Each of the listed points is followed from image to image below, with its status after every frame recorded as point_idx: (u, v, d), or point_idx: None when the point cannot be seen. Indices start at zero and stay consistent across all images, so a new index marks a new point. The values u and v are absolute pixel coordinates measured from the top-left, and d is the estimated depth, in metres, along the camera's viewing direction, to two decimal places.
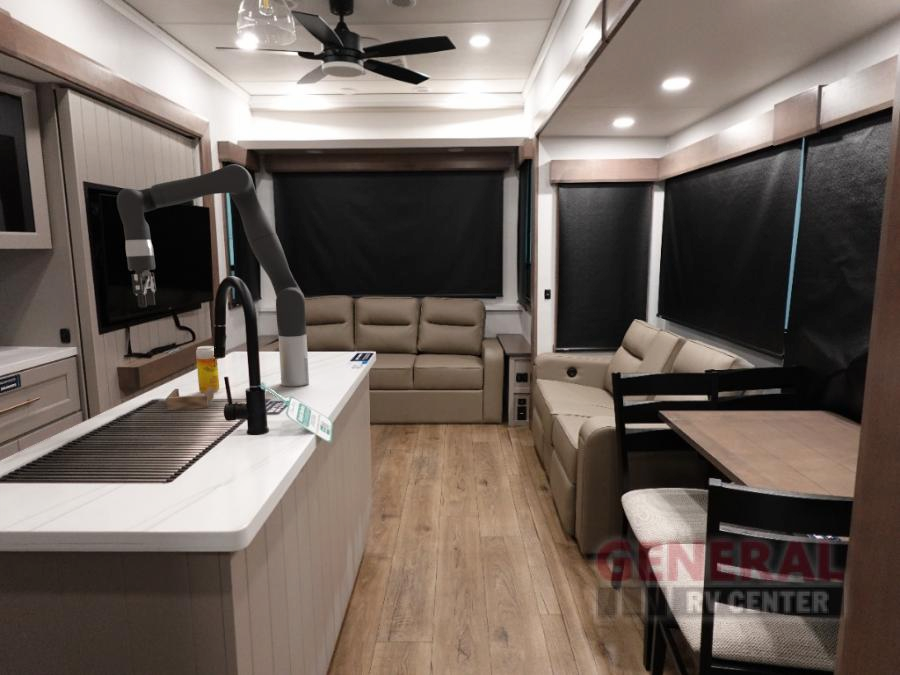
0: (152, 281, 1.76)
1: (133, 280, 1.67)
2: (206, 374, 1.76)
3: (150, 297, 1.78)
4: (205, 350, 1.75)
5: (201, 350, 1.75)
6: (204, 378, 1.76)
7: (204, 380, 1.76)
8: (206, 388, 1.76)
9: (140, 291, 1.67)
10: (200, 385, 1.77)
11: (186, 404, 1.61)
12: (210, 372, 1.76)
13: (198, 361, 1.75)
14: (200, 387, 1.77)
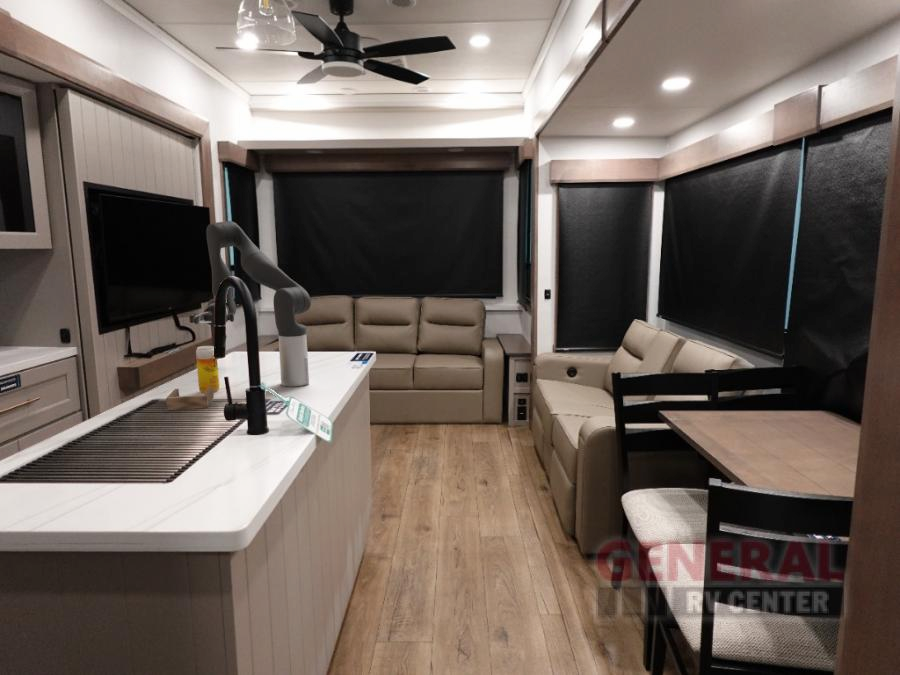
0: None
1: None
2: (206, 374, 1.76)
3: None
4: (205, 350, 1.75)
5: (201, 350, 1.75)
6: (204, 378, 1.76)
7: (204, 380, 1.76)
8: (206, 388, 1.76)
9: None
10: (200, 385, 1.77)
11: (186, 404, 1.61)
12: (210, 372, 1.76)
13: (198, 361, 1.75)
14: (200, 387, 1.77)
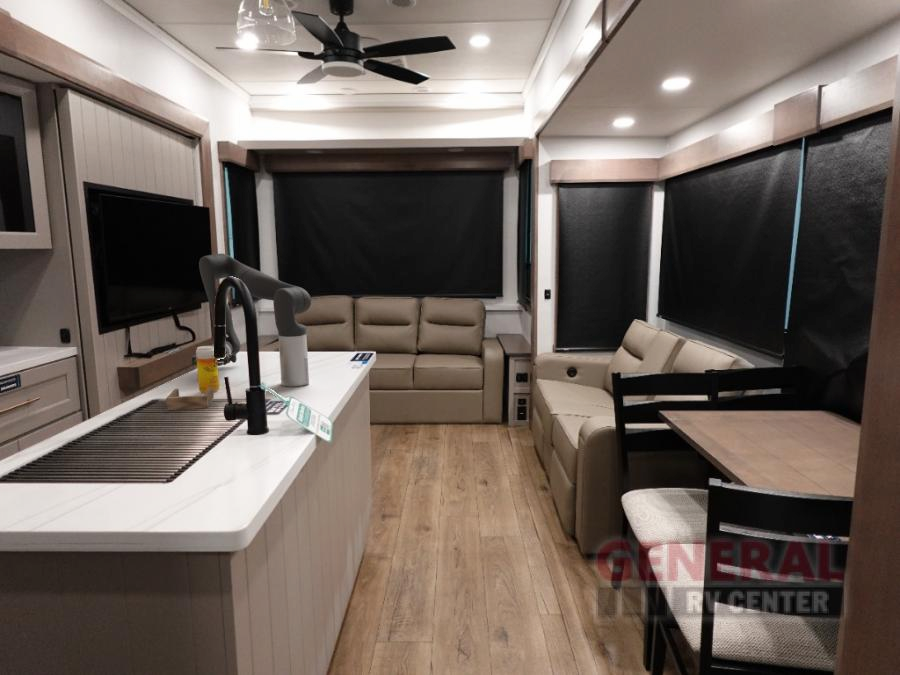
0: None
1: None
2: (206, 374, 1.76)
3: None
4: (205, 350, 1.75)
5: (201, 350, 1.75)
6: (204, 378, 1.76)
7: (204, 380, 1.76)
8: (206, 388, 1.76)
9: (191, 358, 1.87)
10: (200, 385, 1.77)
11: (186, 404, 1.61)
12: (210, 372, 1.76)
13: (198, 361, 1.75)
14: (200, 387, 1.77)
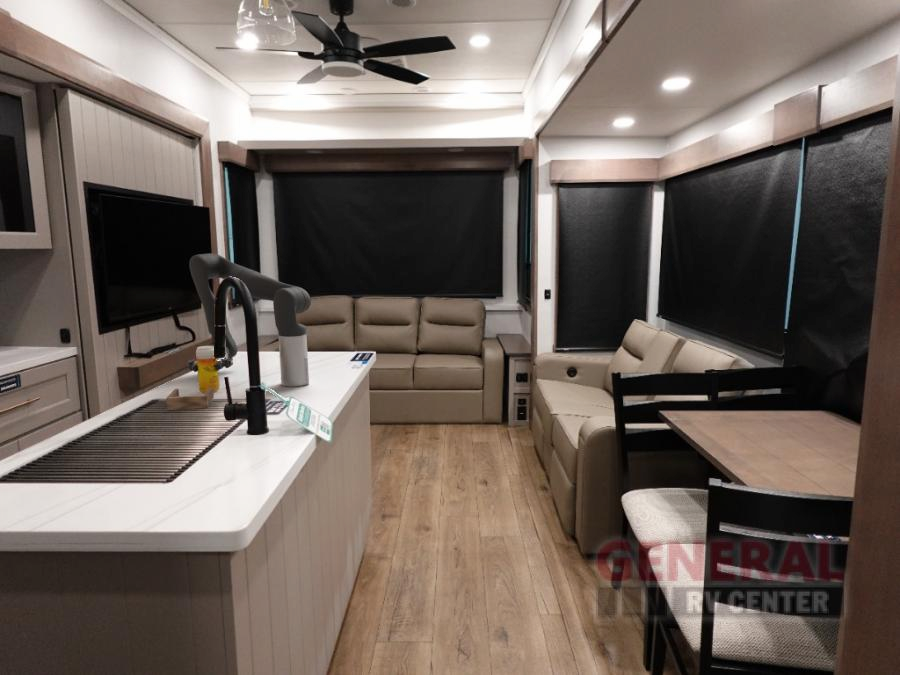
0: None
1: None
2: (206, 374, 1.76)
3: None
4: (205, 350, 1.75)
5: (201, 350, 1.75)
6: (204, 378, 1.76)
7: (204, 380, 1.76)
8: (206, 388, 1.76)
9: (188, 363, 1.79)
10: (200, 385, 1.77)
11: (186, 404, 1.61)
12: (210, 372, 1.76)
13: (198, 361, 1.75)
14: (200, 387, 1.77)
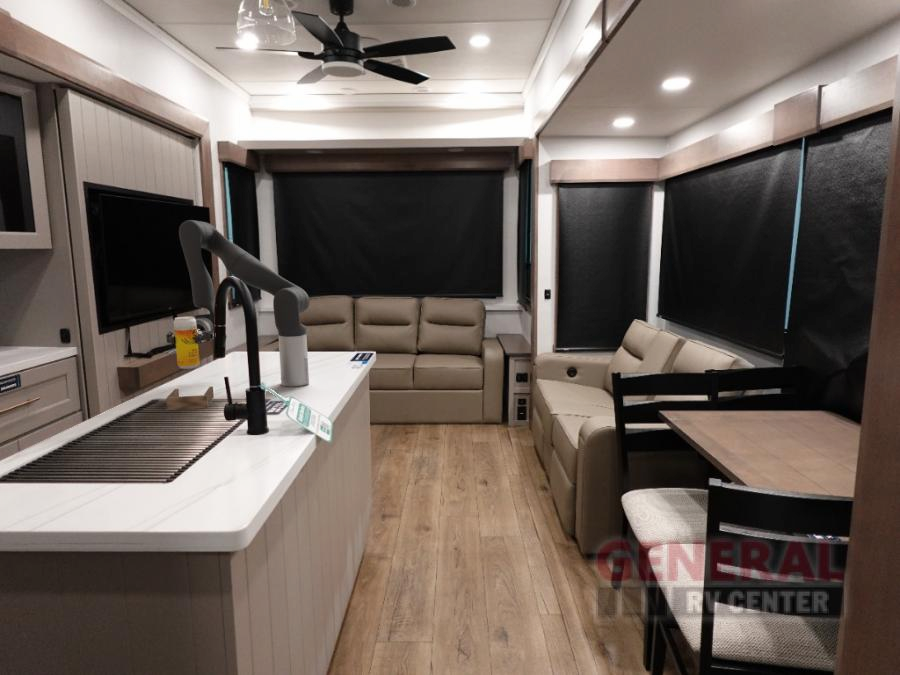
0: (198, 330, 1.70)
1: None
2: (185, 347, 1.62)
3: None
4: (183, 321, 1.61)
5: (179, 320, 1.61)
6: (182, 351, 1.62)
7: (182, 353, 1.62)
8: (185, 362, 1.63)
9: (166, 336, 1.65)
10: (178, 359, 1.63)
11: (186, 404, 1.61)
12: (188, 344, 1.62)
13: (176, 333, 1.62)
14: (178, 361, 1.63)
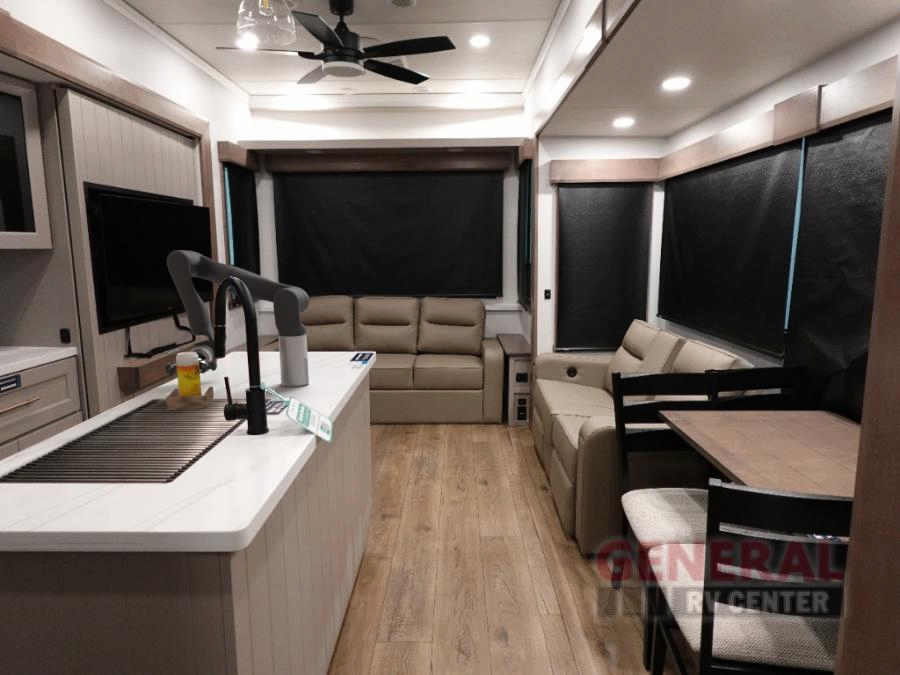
0: (200, 359, 1.71)
1: None
2: (187, 382, 1.63)
3: None
4: (186, 356, 1.62)
5: (181, 356, 1.62)
6: (185, 387, 1.63)
7: (185, 389, 1.63)
8: None
9: (165, 366, 1.66)
10: (180, 394, 1.64)
11: (186, 404, 1.61)
12: (191, 380, 1.63)
13: (178, 368, 1.62)
14: (180, 396, 1.64)
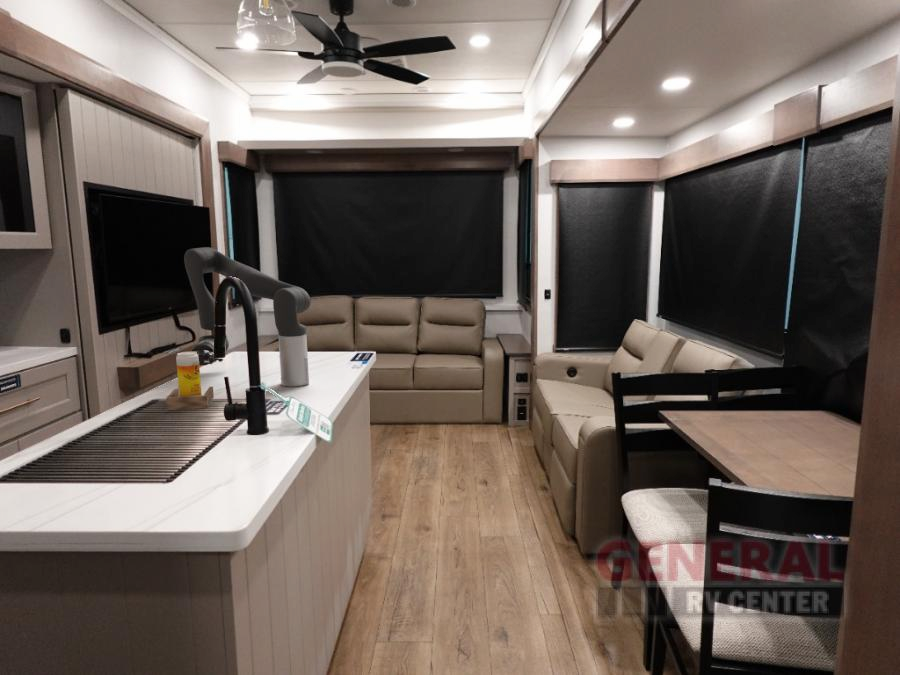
0: (208, 351, 1.83)
1: None
2: (187, 382, 1.63)
3: None
4: (186, 356, 1.62)
5: (181, 356, 1.62)
6: (185, 387, 1.63)
7: (185, 389, 1.63)
8: None
9: (175, 357, 1.78)
10: (180, 394, 1.64)
11: (186, 404, 1.61)
12: (191, 380, 1.63)
13: (178, 368, 1.62)
14: (180, 396, 1.64)
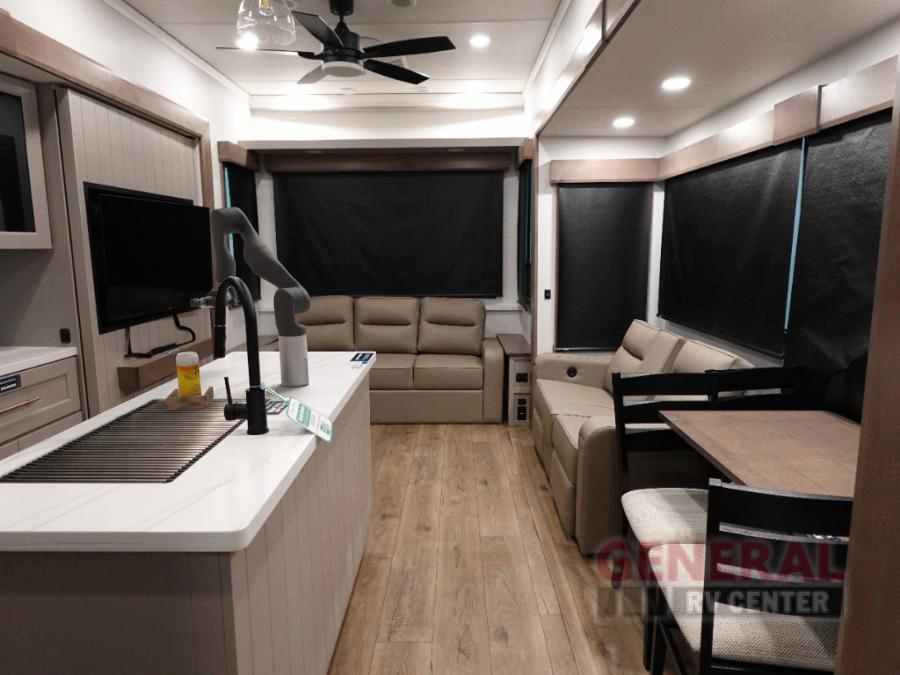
0: None
1: None
2: (187, 383, 1.63)
3: None
4: (185, 356, 1.62)
5: (181, 356, 1.61)
6: (185, 387, 1.63)
7: (184, 389, 1.63)
8: None
9: (190, 301, 1.86)
10: (180, 394, 1.64)
11: (186, 404, 1.61)
12: (191, 380, 1.63)
13: (178, 368, 1.62)
14: (180, 396, 1.64)
